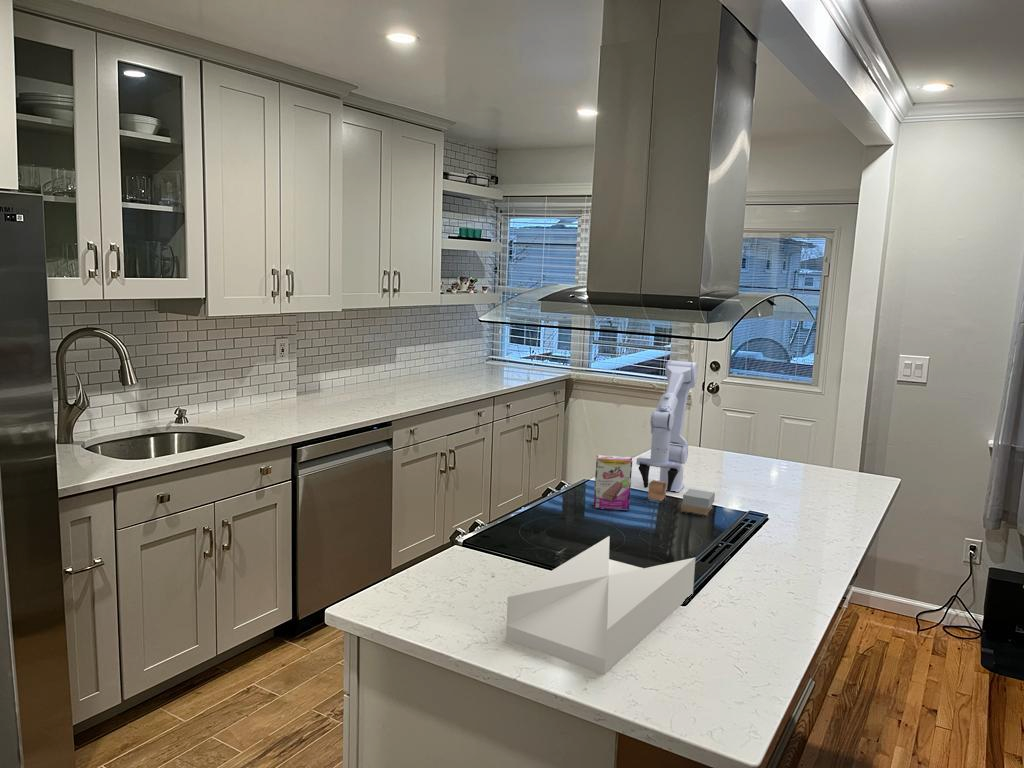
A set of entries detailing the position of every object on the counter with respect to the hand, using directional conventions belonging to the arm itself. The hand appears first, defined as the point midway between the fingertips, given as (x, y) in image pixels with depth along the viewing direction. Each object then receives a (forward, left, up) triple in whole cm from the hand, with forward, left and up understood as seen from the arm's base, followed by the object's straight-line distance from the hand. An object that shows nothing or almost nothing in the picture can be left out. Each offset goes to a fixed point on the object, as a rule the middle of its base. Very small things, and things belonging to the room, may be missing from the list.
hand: (657, 488), depth 252 cm
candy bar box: (+16, -10, -4) cm, 19 cm away
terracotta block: (0, 0, -4) cm, 4 cm away
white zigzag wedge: (+88, +14, -5) cm, 89 cm away
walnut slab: (+4, +14, -4) cm, 15 cm away
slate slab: (+4, +14, -1) cm, 15 cm away
